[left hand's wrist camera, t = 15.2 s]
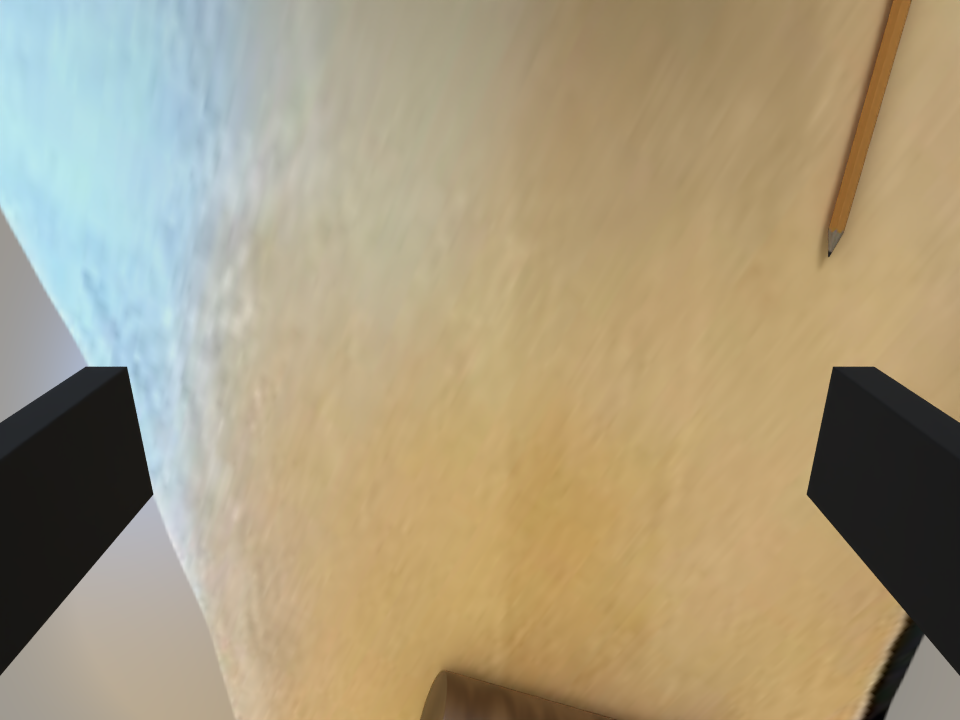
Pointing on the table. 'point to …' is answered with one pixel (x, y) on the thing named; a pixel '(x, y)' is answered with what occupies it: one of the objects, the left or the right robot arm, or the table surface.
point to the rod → (491, 702)
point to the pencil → (867, 120)
